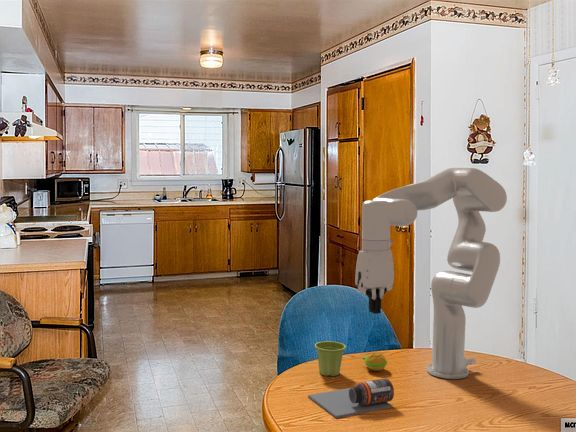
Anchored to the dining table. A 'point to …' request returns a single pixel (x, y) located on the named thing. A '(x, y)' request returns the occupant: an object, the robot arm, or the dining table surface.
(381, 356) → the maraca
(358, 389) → the supplement bottle
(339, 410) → the mat
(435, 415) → the dining table surface
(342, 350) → the plant pot
